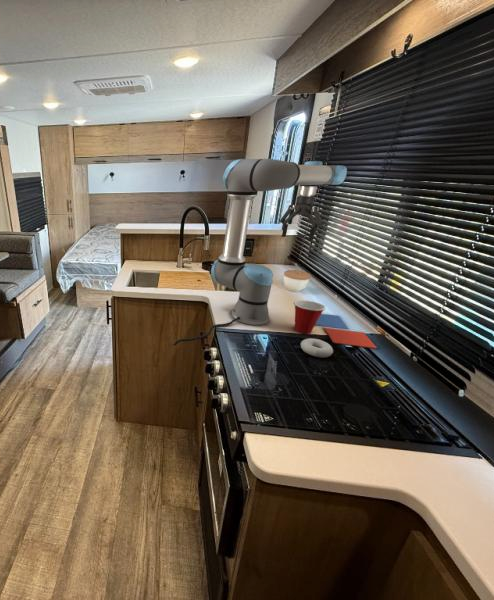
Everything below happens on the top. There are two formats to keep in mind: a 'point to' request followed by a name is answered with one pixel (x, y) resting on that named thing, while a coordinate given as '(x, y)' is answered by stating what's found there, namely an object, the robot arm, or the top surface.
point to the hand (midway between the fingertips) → (296, 238)
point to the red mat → (349, 338)
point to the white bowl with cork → (296, 280)
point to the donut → (316, 348)
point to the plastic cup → (307, 315)
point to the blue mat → (331, 321)
